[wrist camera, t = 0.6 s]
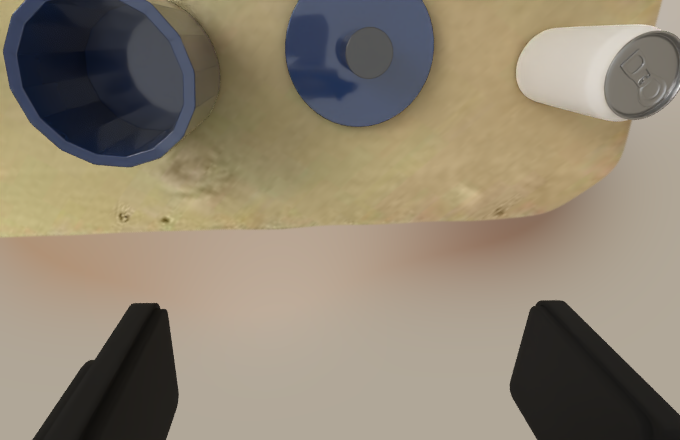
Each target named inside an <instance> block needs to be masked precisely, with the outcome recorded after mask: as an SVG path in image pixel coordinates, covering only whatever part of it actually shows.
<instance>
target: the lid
mask: <svg viewBox="0 0 680 440" xmlns="http://www.w3.org/2000/svg"><path fill="white" fill-rule="evenodd" d="M433 53H434V35H433V28H432V24H431V19H430V16H429V14H428V11H427V9H426V7H425V5H424V3H423V1H422V0H299V1H298V3H297V4H296V6H295V8H294V10H293V12H292V15H291V17H290V20H289V24H288V28H287V32H286V41H285V55H286V62H287V67H288V71H289V75H290V77H291V80H292V82H293V84H294V86H295V88H296V90H297V92H298V93H299V95H300V96H301V98H302V99H303V100H304V101H305V102H306V104H307V105H308V106H309V107H310V108H311V109H313V110H314V111H315V112H316V113H317V114H319V115H321V116H322V117H324V118H325V119H327V120H330V121H332V122H334V123H337V124H341V125H345V126H351V127H363V126H371V125H375V124H379V123H382V122H384V121H387V120H389V119H391V118H393V117H395V116H396V115H397V114H399V113H400V112H402V111H403V110H404V109H405V108H406V107H408V106H409V105H410V104H411V102H412V101H413V100H414V99H415V98H416V97H417V95H418V94H419V92H420V91H421V89H422V87H423V86H424V84H425V82H426V80H427V77H428V74H429V72H430V68H431V64H432V60H433Z"/></svg>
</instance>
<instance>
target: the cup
mask: <svg viewBox="0 0 680 440" xmlns="http://www.w3.org/2000/svg"><path fill="white" fill-rule="evenodd" d="M3 55H4V60H5V65H6V70H7V76H8V81H9V86H10V89H11V91H12V93H13V95H14V96H15V98H16V100H17V101H18V103H19V105H20V106H21V108H22V110H23V111H24V113H25V115H26V116H27V118H28V120H29V121H30V123H32V125H33V126H34V127H35V128H37V129H38V130H39V131H40V132H41V133H42V134H43V135H45V136H46V137H47V138H48V139H49V140H50V141H51V142H53V143H54V144H55V145H56V146H57V147H58V148H59V149H61V150H62V151H65V152H67V153H69V154H72V155H74V156H76V157H78V158H81V159H83V160H85V161H88V162H90V163H92V164H96V165H105V166H117V167H133V166H137V165H140V164H143V163H146V162H150V161H153V160H156V159H159V158H161V157H162V156H164V155H165V154H166V153H167V152H168V151H169V150H171V149H172V148H173V147H174V146H175V145H176V144H178V143H179V142H180V141H181V140H182V139H184V138H185V137H186V136H187V135H188V134H189V133H191V132H192V131H193V130H194V129H195V128H196V127H197V126H198V125H200V124H201V123H202V122H203V121H204V120H205V119H206V118H207V117H208V116H209V115H210V113H211V111H212V109H213V107H214V105H215V103H216V100H217V97H218V94H219V88H220V67H219V62H218V58H217V55H216V52H215V49H214V47H213V45H212V42H211V40H210V39H209V37H208V35H207V34H206V32H205V31H204V29H203V28H202V27H201V26H200V24H199V23H198V22H197V21H196V20H195V19H194V18H193V17H192V16H191V15H190V14H189V13H188V12H187V11H185V10H184V9H182V8H180V7H179V6H177V5H176V4H174V3H172V2H170V1H168V0H25V1H24V2H23V3H22V4H21V5H20V6H19V8H18V9H17V10H16V11H15V12H14V13H13V14H12V16H11V20H10V24H9V28H8V32H7V36H6V40H5V44H4V49H3Z"/></svg>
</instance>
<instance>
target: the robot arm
mask: <svg viewBox="0 0 680 440" xmlns="http://www.w3.org/2000/svg"><path fill="white" fill-rule="evenodd" d="M510 392H511V395H512V397H513V400H514V401H515V403H516V404H517V406H518V408H519V410H520V411H521V413H522V415H523V416H524V418H525V420H526V421H527V423H528V425H529V427H530V428H531V430H532V432H533V433H534V435H535V436H536V438H537V440H680V415H679V414H678V413H677V412H676V411H675V410H674V409H673V408H672V407H671V406H670V405H669V404H668V403H667V402H666V401H665V400H664V399H663V398H662V397H661V396H660V395H659V394H658V393H657V392H656V391H654V389H653V388H652V387H651V386H650V385H649V384H647V382H645V380H644V379H643V378H641V376H640V375H638V373H636V372H635V371H634V370H633V369H632V368H631V367H630V366H629V365H628V364H627V363H626V362H625V361H624V360H623V359H622V358H621V357H620V356H619V355H618V354H617V353H616V352H615V351H614V350H613V349H612V348H611V347H610V346H609V345H608V344H607V343H606V342H605V341H604V340H603V339H602V338H601V337H600V336H599V335H598V334H597V333H596V332H595V331H594V330H593V329H592V328H591V327H590V326H589V325H588V324H587V323H586V322H584V320H583V319H582V318H581V317H580V316H578V314H577V313H576V312H575V311H573V309H572V308H570V306H568V305H567V304H566V303H565V302H564V301H555V300H552V301H539V302H538V303H537V304H536V306H533V307H532V308H531V309H530V312H529V316H528V320H527V323H526V326H525V330H524V334H523V337H522V341H521V345H520V348H519V352H518V356H517V359H516V363H515V367H514V370H513V374H512V377H511V381H510ZM178 395H179V394H178V385H177V378H176V370H175V363H174V355H173V348H172V341H171V333H170V326H169V318H168V313H167V310H166V309H160V306H159V305H158V304H157V303H134V304H131V306H130V307H129V308H128V310H127V311H126V313H125V314H124V316H123V317H122V319H121V320H120V322H119V324H118V325H117V327H116V328H115V330H114V331H113V333H112V334H111V336H110V337H109V339H108V340H107V342H106V343H105V345H104V347H103V348H102V350H101V351H100V353H99V354H98V356H97V358H96V359H95V360H90V361H88V362H86V363H85V364H84V365H83V366H82V368H81V369H80V370H79V372H78V373H77V375H76V376H75V378H74V379H73V381H72V382H71V384H70V385H69V387H68V388H67V390H66V391H65V393H64V394H63V396H62V397H61V399H60V400H59V402H58V403H57V404H56V406H55V407H54V409H53V410H52V412H51V413H50V415H49V416H48V418H47V419H46V421H45V422H44V424H43V425H42V427H41V428H40V429H39V431H38V432H37V434H36V435H35V437H34V438H33V440H166V438H167V435H168V432H169V429H170V426H171V423H172V420H173V417H174V414H175V411H176V408H177V404H178Z"/></svg>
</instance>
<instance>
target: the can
mask: <svg viewBox="0 0 680 440" xmlns="http://www.w3.org/2000/svg"><path fill="white" fill-rule="evenodd" d="M516 78H517V83H518V86H519V88H520V90H521V91H522V93H523V94H524V95H525V96H526V97H528V98H529V99H531V100H533V101H536V102H539V103H542V104H546V105H550V106H553V107H557V108H561V109H564V110H568V111H572V112H576V113H579V114H583V115H587V116H591V117H595V118H599V119H603V120H607V121H625V120H637V119H643V118H646V117H649V116H651V115H654V114H655V113H657V112H659V111H660V110H661V109H663V108H664V107H665V106H666V105H668V104H669V103H670V102H671V100H672V99H673V98H674V97H675V96H676V94H677V93H678V91H679V90H680V39H679V38H678V37H677V36H676V35H674V34H672V33H670V32H667V31H662V30H660V29H658V28H656V27H654V26H650V25H643V24H629V25H603V26H580V27H561V28H552V29H548V30H545V31H543V32H541V33H539V34H537V35H536V36H535V37H533V38H532V39H531V40H530V41H529V42H528V43H527V45H526V46H525V47H524V49H523V50H522V52H521V54H520V56H519V59H518V62H517V67H516Z"/></svg>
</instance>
